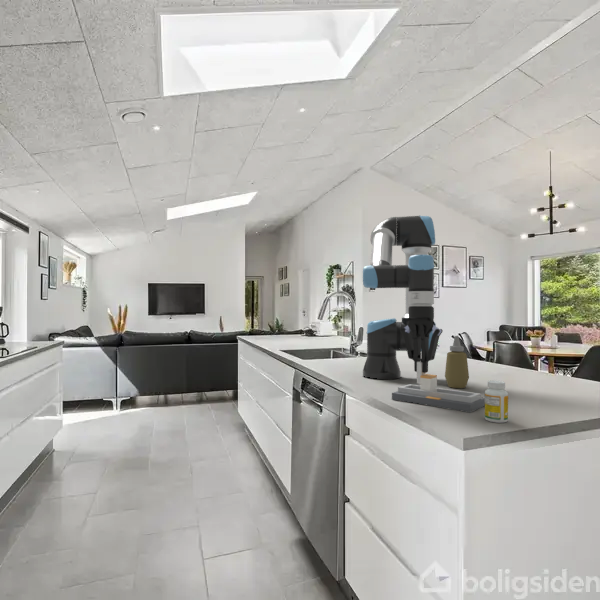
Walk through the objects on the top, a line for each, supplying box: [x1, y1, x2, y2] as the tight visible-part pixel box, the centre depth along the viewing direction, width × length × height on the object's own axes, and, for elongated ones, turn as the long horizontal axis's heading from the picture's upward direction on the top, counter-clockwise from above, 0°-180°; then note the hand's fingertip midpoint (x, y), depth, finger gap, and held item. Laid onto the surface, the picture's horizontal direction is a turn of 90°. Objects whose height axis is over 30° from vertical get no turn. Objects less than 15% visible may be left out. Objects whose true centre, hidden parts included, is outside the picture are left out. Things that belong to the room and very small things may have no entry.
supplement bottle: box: [484, 380, 509, 424], centre depth 110 cm, size 5×5×10 cm
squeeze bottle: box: [444, 335, 470, 389], centre depth 156 cm, size 8×8×18 cm
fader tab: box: [419, 373, 438, 392], centre depth 133 cm, size 3×4×5 cm
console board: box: [391, 383, 485, 413], centre depth 131 cm, size 24×12×4 cm, turn 48°
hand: (421, 383), depth 134 cm, fingers closed
